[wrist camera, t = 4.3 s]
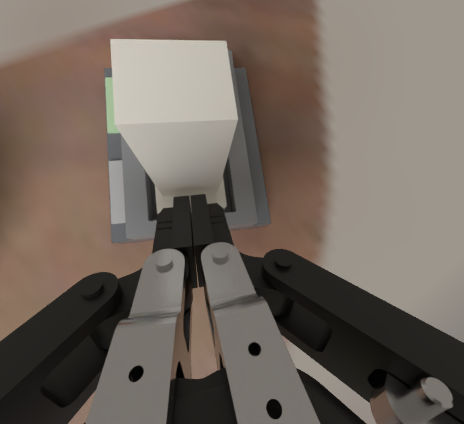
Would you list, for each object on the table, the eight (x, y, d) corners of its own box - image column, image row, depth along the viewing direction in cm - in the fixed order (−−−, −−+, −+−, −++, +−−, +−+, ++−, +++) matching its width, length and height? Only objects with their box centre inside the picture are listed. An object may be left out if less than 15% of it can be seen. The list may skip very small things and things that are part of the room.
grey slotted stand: (120, 243, 15) (100, 241, 12) (112, 84, 17) (93, 48, 14) (264, 226, 16) (278, 220, 13) (242, 82, 18) (249, 49, 15)
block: (162, 218, 14) (97, 157, 5) (157, 157, 14) (93, 12, 6) (223, 211, 14) (257, 147, 6) (216, 153, 15) (236, 17, 6)
